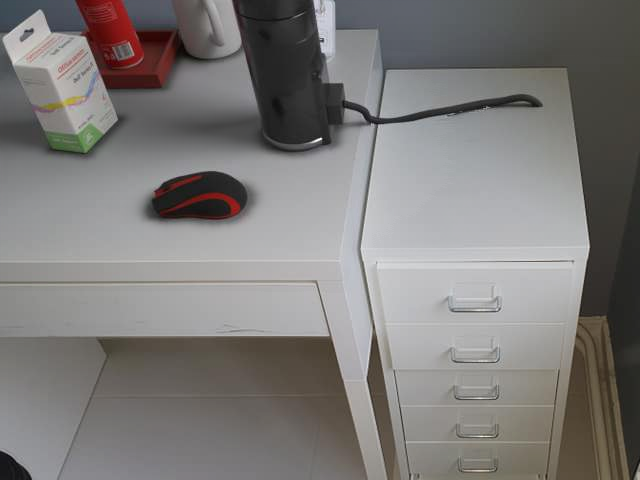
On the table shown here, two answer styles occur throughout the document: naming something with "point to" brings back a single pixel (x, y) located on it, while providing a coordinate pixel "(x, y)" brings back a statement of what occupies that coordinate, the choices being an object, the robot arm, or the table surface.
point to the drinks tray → (150, 70)
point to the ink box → (61, 84)
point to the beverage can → (112, 32)
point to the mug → (208, 27)
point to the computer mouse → (200, 196)
